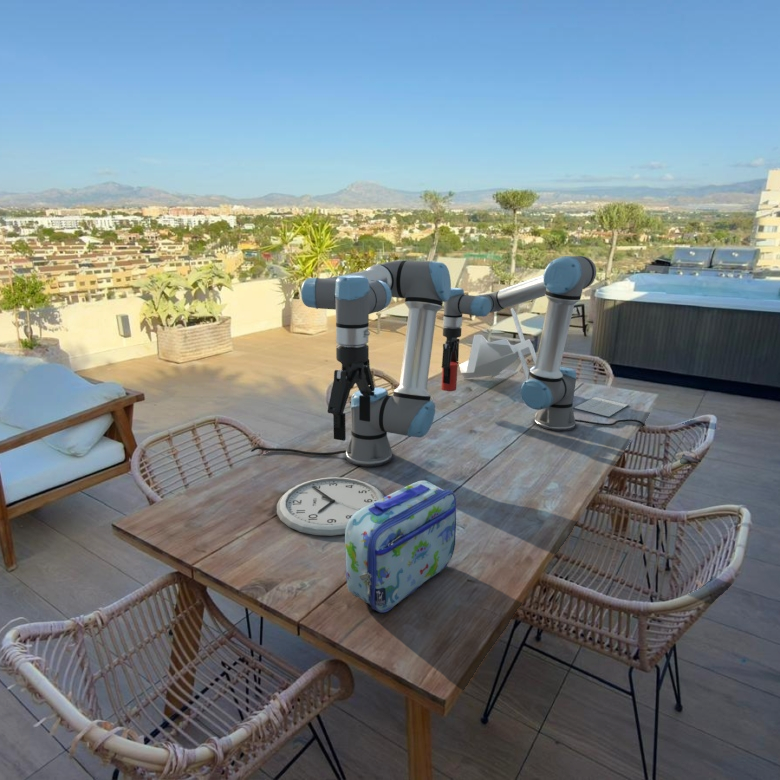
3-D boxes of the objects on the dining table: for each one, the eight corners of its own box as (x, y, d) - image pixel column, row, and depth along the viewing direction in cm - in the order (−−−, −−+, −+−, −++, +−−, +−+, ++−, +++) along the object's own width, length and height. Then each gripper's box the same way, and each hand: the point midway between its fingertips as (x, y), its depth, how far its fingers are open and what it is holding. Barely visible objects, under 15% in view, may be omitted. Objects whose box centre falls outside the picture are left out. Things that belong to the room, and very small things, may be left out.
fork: (417, 411, 216) (418, 406, 216) (428, 400, 231) (428, 395, 230) (423, 412, 215) (424, 407, 215) (434, 400, 230) (434, 396, 229)
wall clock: (392, 527, 129) (268, 531, 127) (391, 533, 130) (269, 537, 127) (383, 473, 158) (282, 475, 155) (383, 478, 158) (282, 480, 156)
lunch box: (374, 626, 100) (375, 530, 93) (338, 598, 107) (337, 508, 101) (459, 568, 117) (465, 484, 111) (424, 547, 124) (427, 467, 118)
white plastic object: (480, 420, 263) (459, 397, 239) (461, 347, 286) (440, 319, 261) (551, 396, 251) (537, 369, 226) (526, 322, 273) (511, 290, 249)
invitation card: (608, 416, 214) (573, 407, 224) (608, 416, 214) (573, 408, 224) (628, 404, 229) (594, 396, 238) (628, 405, 229) (594, 397, 238)
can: (446, 385, 225) (447, 360, 221) (458, 388, 221) (460, 363, 218) (438, 389, 220) (439, 363, 217) (451, 392, 216) (452, 366, 213)
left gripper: (341, 357, 109) (342, 451, 115) (388, 336, 131) (386, 415, 137) (310, 353, 111) (313, 445, 118) (361, 333, 133) (361, 411, 140)
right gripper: (451, 322, 222) (448, 374, 229) (435, 329, 206) (432, 385, 213) (468, 324, 219) (465, 376, 226) (453, 331, 203) (449, 388, 210)
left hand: (352, 429), depth 127 cm, fingers open, 13 cm apart
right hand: (449, 381), depth 220 cm, fingers closed on can, 6 cm apart
